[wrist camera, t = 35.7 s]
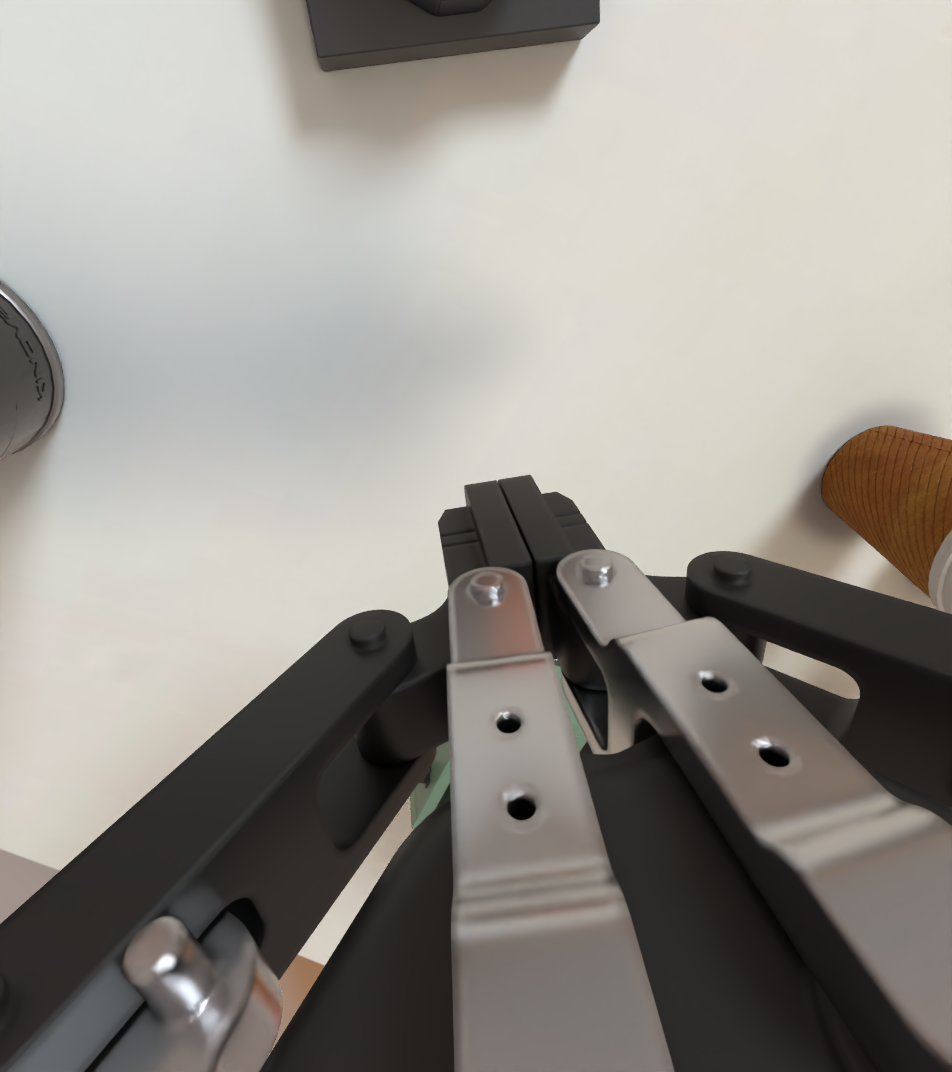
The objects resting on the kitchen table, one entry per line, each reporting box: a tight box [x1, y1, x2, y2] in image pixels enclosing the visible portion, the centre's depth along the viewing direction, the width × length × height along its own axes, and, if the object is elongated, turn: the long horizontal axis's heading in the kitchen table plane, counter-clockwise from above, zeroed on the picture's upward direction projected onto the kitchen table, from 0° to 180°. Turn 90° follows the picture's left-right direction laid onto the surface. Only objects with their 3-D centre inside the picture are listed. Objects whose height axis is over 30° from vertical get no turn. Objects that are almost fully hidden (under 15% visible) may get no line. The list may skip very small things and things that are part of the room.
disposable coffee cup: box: [822, 426, 952, 614], centre depth 31 cm, size 10×10×12 cm
